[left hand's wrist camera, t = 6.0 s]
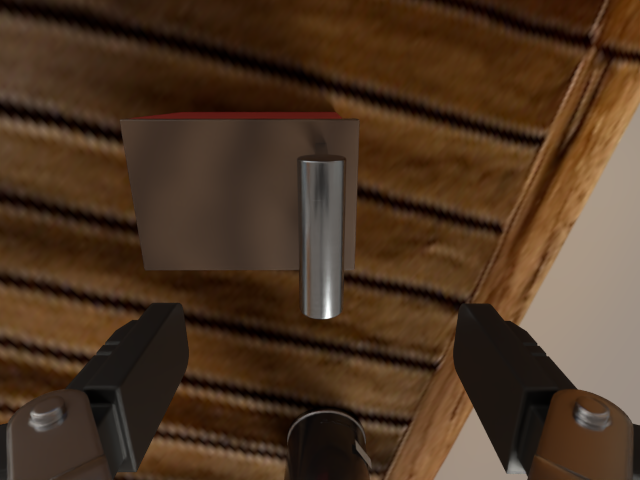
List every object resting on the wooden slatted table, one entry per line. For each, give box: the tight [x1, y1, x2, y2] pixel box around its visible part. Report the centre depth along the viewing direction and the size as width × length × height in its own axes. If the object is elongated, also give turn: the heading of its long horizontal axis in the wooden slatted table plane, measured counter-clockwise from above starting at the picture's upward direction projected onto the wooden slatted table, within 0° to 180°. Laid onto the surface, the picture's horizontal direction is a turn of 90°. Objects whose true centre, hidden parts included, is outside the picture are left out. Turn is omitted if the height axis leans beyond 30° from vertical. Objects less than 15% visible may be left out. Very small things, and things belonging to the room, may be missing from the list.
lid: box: [120, 119, 359, 319], centre depth 22 cm, size 15×10×10 cm
